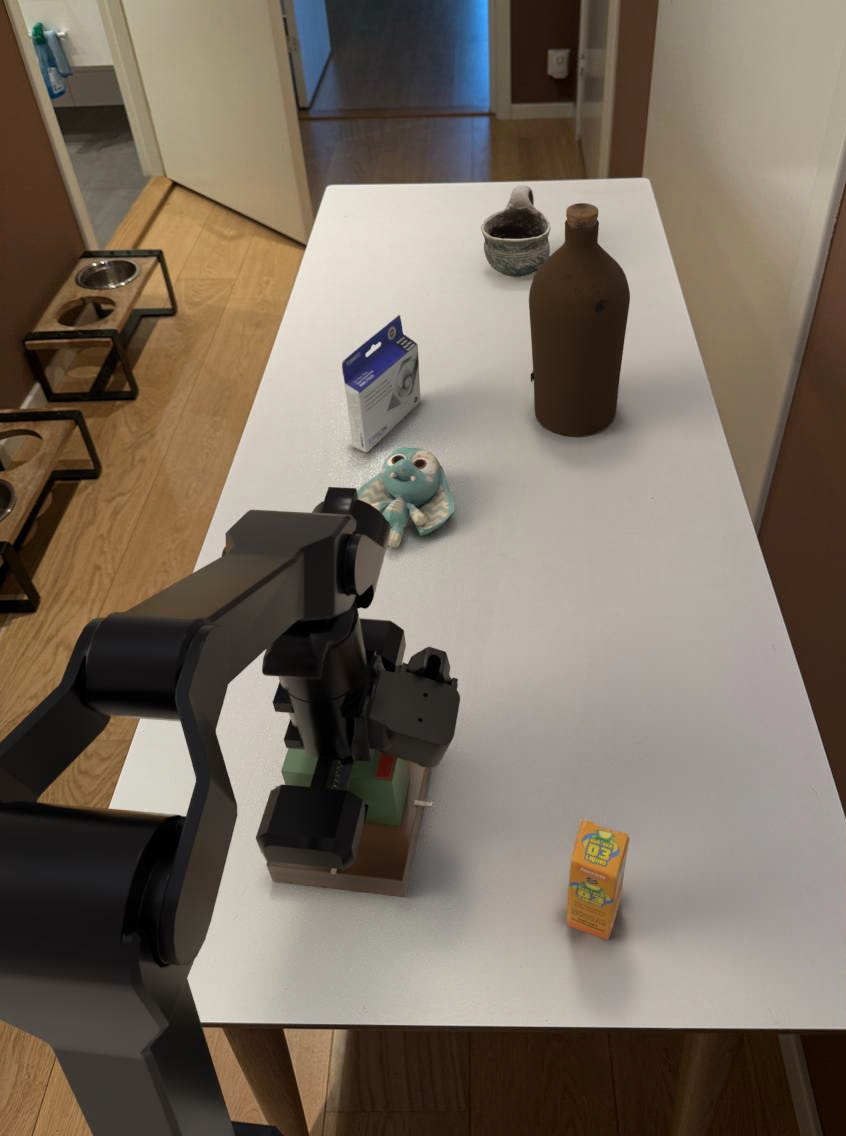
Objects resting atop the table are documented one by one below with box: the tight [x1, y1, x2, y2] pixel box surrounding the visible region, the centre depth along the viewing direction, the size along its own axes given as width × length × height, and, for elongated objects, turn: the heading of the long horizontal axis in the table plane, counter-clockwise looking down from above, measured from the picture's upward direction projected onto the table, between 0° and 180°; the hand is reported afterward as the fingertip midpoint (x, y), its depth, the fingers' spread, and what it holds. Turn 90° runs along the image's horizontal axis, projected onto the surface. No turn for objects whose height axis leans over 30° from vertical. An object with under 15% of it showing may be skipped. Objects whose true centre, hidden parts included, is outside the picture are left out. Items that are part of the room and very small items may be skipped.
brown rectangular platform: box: [266, 761, 434, 898], centre depth 73 cm, size 12×12×3 cm
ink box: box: [341, 314, 421, 454], centre depth 107 cm, size 12×2×12 cm, turn 149°
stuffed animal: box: [357, 446, 455, 548], centre depth 97 cm, size 11×7×12 cm
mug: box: [480, 185, 552, 278], centre depth 135 cm, size 10×12×10 cm
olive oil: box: [528, 202, 631, 437], centre depth 103 cm, size 11×11×25 cm
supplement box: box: [566, 818, 630, 941], centre depth 64 cm, size 3×3×10 cm
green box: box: [280, 748, 410, 826], centre depth 70 cm, size 8×4×6 cm, turn 83°
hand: (353, 795), depth 72 cm, fingers open, 8 cm apart
